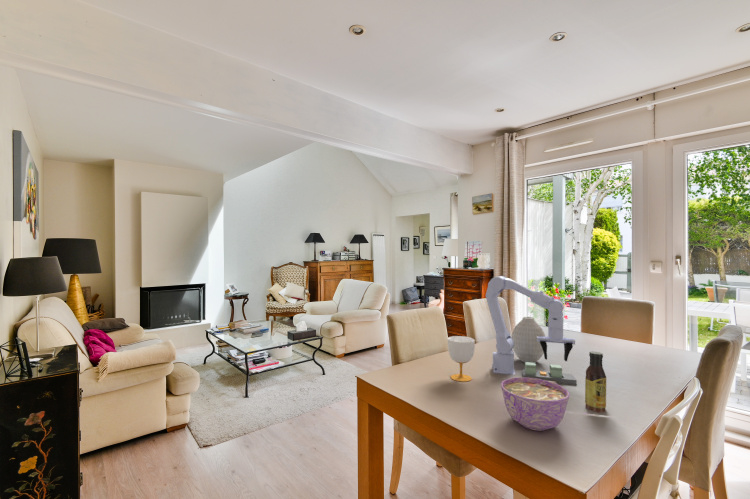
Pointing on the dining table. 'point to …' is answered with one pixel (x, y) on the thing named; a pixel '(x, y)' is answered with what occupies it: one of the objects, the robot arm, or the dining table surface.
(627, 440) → the dining table surface
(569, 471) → the dining table surface
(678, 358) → the dining table surface
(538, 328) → the vase
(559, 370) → the plug
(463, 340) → the cup
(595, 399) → the sauce bottle
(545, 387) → the bowl of food
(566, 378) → the gray fixture base
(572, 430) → the dining table surface
